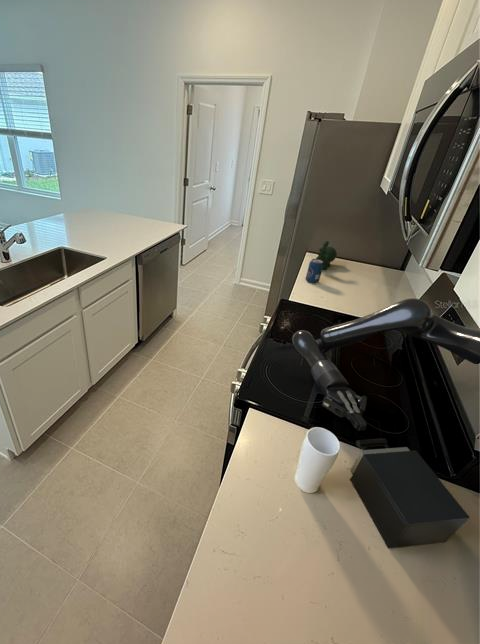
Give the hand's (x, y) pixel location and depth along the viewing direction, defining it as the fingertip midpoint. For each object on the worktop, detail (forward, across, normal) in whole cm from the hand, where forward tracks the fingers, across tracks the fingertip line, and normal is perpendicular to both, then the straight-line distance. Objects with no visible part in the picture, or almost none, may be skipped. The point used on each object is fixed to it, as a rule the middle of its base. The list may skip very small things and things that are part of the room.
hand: (362, 428), depth 76 cm
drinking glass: (+8, -17, +7) cm, 20 cm away
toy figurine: (-116, +49, +7) cm, 127 cm away
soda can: (-96, +33, +7) cm, 102 cm away
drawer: (+11, 0, +6) cm, 12 cm away
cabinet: (+15, 0, +6) cm, 17 cm away
